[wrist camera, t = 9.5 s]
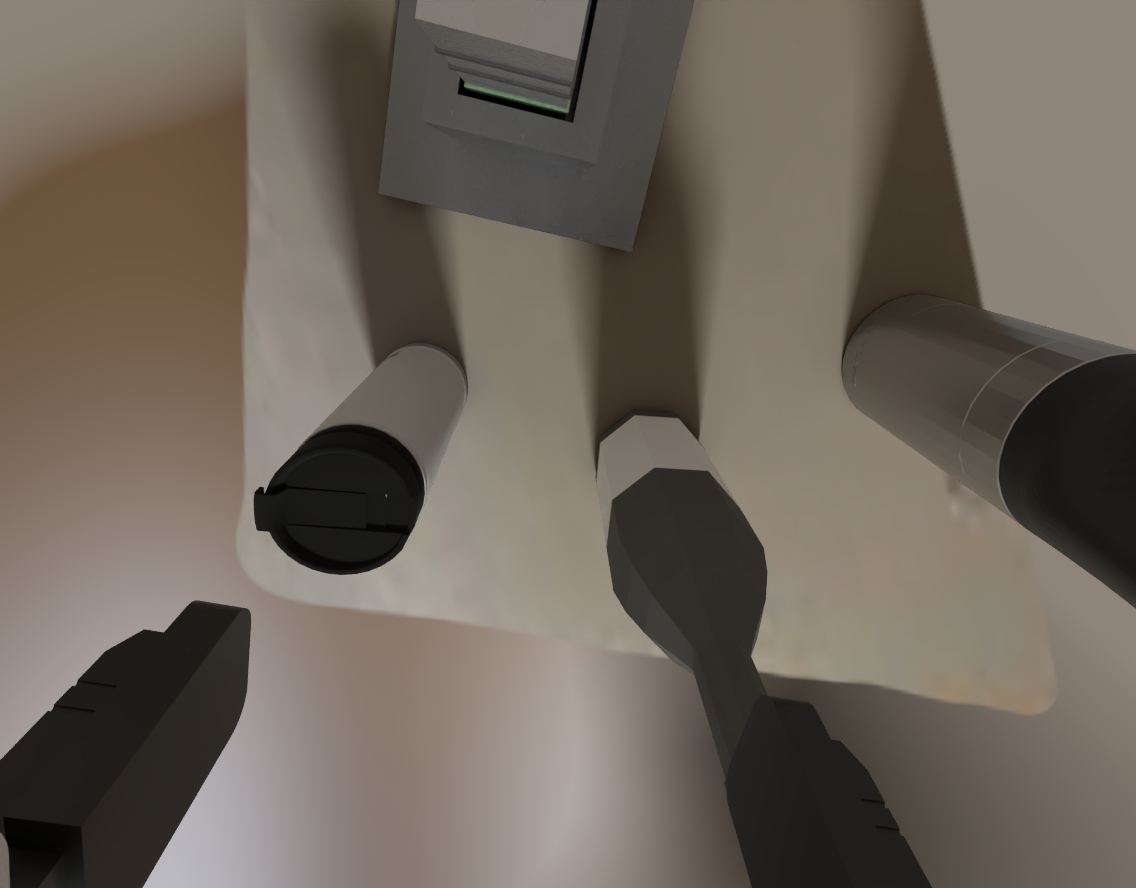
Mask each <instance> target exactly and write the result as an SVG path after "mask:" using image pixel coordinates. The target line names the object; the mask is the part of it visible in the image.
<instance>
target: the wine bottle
mask: <svg viewBox="0 0 1136 888" xmlns="http://www.w3.org/2000/svg"><path fill="white" fill-rule="evenodd" d="M596 484H597V490H598V496H599V502H600V509H601V515H602V521H603V528H604V534H605V540H606V547H607V553H608V559H609V566H610V572H611V578H612V584H613V591H614V593H615V594H616V596H617V598H618V599H619V601H620V603H621V604H622V606H623V608H624V609H625V611H626V613H627V614H628V615H629V616H630V617H631V618H632V619H633V620H634V622H635V623H636V624H637V625H638V626H639V627H640V628H641V629H642V631H643V632H644V633H645V634H646V635H647V636H648V637H649V638H650V639H651V640H652V641H653V642H654V643H655V644H656V645H657V646H658V647H659V648H660V649H661V650H662V651H663V652H664V653H665V654H666V655H667V656H668V657H669V658H670V659H671V660H672V661H673V662H674V663H676V664H678V665H679V666H681V667H682V668H684V669H686V670H687V671H689V672H690V673H692V674H693V675H695V678H696V681H697V685H698V688H699V691H700V695H701V698H702V701H703V705H704V708H705V711H706V715H707V718H708V722H709V725H710V728H711V731H712V735H713V738H714V742H715V745H716V748H717V752H718V755H719V758H720V762H721V765H722V768H723V772H724V775H725V778H726V779H725V783H724V784H725V788H726V786H727V773H728V768H729V764H730V762H731V759H732V757H733V754H734V752H735V749H736V747H737V744H738V742H739V740H740V737H741V735H742V732H743V730H744V727H745V725H746V723H747V720H748V718H749V715H750V713H751V710H752V708H753V706H754V703H755V701H756V700H757V699H758V698H759V697H760V696H761V695H767V693H766V690H765V688H764V686H763V683H762V681H761V679H760V676H759V674H758V672H757V669H756V667H755V665H754V662H753V660H752V658H751V655H752V652H753V649H754V646H755V643H756V640H757V636H758V631H759V627H760V622H761V618H762V614H763V609H764V605H765V600H766V585H767V567H766V560H765V554H764V548H763V546H762V544H761V543H760V541H759V539H758V538H757V536H756V534H755V533H754V531H753V529H752V528H751V526H750V524H749V523H748V521H747V519H746V518H745V516H744V514H743V513H742V511H741V509H740V508H739V506H738V504H737V503H736V501H735V499H734V498H733V496H732V494H731V492H730V491H729V489H728V487H727V486H726V484H725V482H724V481H723V479H722V477H721V476H720V474H719V472H718V471H717V469H716V467H715V466H714V464H713V462H712V461H711V459H710V457H709V456H708V454H707V452H706V451H705V449H704V448H703V446H702V445H701V444H700V442H699V441H698V440H697V439H696V438H695V436H694V435H693V434H692V433H691V432H690V430H689V429H688V428H687V427H686V426H685V425H684V423H683V422H682V421H681V420H680V419H679V417H678V416H677V415H676V414H675V413H671V412H656V411H641V410H632V411H631V412H629V413H628V414H627V415H626V416H624V417H623V418H622V419H621V420H619V421H618V422H617V423H616V424H614V425H613V426H612V427H610V428H609V429H608V430H607V431H605V432H604V433H603V434H602V435H600V442H599V452H598V462H597V471H596ZM726 791H727V788H726Z"/></svg>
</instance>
